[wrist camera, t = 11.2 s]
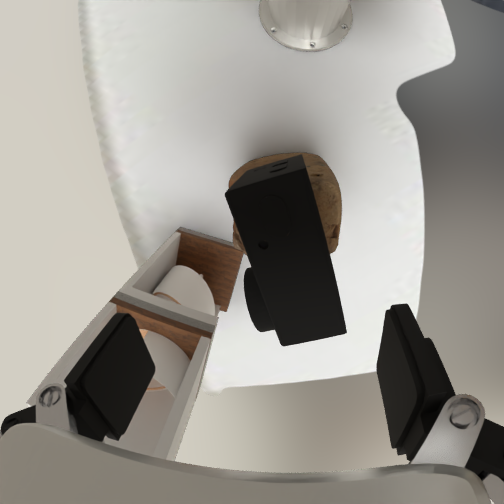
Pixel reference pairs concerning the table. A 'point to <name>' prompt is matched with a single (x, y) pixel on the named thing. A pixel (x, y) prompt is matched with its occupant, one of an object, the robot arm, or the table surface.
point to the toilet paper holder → (166, 334)
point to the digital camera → (286, 253)
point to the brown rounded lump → (322, 187)
